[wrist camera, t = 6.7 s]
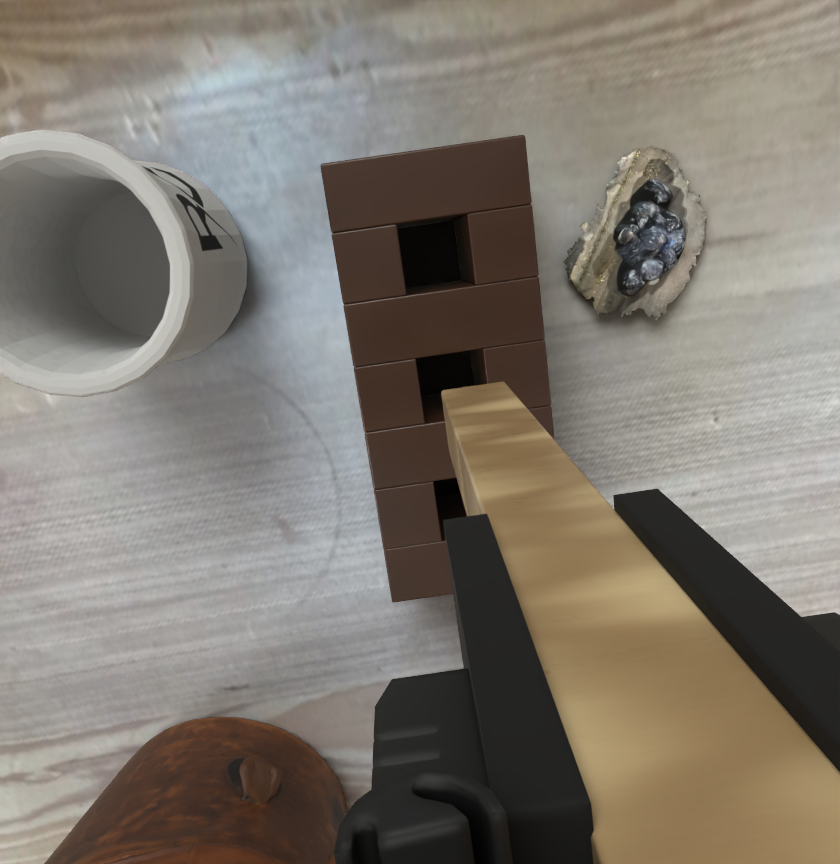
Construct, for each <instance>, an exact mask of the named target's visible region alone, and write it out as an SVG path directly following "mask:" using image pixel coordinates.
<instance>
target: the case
mask: <svg viewBox="0 0 840 864" xmlns="http://www.w3.org/2000/svg"><path fill="white" fill-rule="evenodd" d="M345 816H346V806H345V800H344V795H343V792H342V789H341V786H340V784H339V781H338V779H337V777H336V775H335V773H334V772H333V770H332V769H331V768H330V767H329V766H328V764H327V763H326V762H325V761H324V759H323V758H322V757H321V756H320V755H319V754H318V753H317V752H316V751H315V750H314V749H312V748H311V747H310V746H309V745H307V744H306V743H304V742H303V741H301V740H300V739H298V738H297V737H295V736H293V735H291V734H289V733H287V732H286V731H283V730H281V729H279V728H277V727H274V726H271V725H268V724H265V723H261V722H258V721H253V720H247V719H242V718H235V717H211V718H203V719H195V720H190V721H186V722H184V723H181V724H179V725H176V726H173V727H171V728H169V729H167V730H165V731H163V732H162V733H160V734H159V735H157V736H155V737H153V738H152V739H151V740H150V741H148V742H147V743H146V744H145V745H144V746H143V747H142V748H140V750H139V751H138V752H137V753H136V754H135V755H134V756H133V757H132V758H131V759H130V760H129V761H128V762H127V764H126V765H125V766H124V767H123V768H122V769H121V771H120V772H119V773H118V774H117V776H116V777H115V778H114V779H113V780H112V782H111V783H110V784H109V785H108V787H107V788H106V789H105V790H104V791H103V793H102V794H101V795H100V796H99V798H98V799H97V800H96V801H95V802H94V804H93V805H92V806H91V807H90V808H89V810H88V811H87V812H86V813H85V815H84V816H83V817H82V818H81V819H80V821H79V822H78V823H77V824H76V826H75V827H74V828H73V829H72V831H71V832H70V833H69V834H68V836H67V837H66V838H65V839H64V840H63V842H62V843H61V844H60V845H59V847H58V848H57V849H56V850H55V851H54V853H53V854H52V855H51V856H50V858H49V859H48V860H47V861H46V862H45V864H336V862H335V858H334V849H335V844H336V839H337V834H338V829H339V825H340V824H341V822H342V821H343V819H344V818H345Z"/></svg>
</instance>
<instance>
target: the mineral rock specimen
mask: <svg viewBox="0 0 840 864" xmlns="http://www.w3.org/2000/svg"><path fill="white" fill-rule="evenodd" d="M631 153H632V154H628V156H625V157H622V159H621V161H620V162H617V163H618V164H619V169H620V172H617V171H615V174H616V176H614V178H613V179H612V180H611V181H609V182H610V184H609V185H606V186H607V189H606V194H607V201H606V205H604V206H605V209H600V207H599V206H598V203H597V202H596V201H595V203H596V204H597V208H596V210H598V211H599V213H597V215H596V216H595V215H594V216H595V217H596V219H593V220H592V221H591V225H588V223H587V222H585V223H583V224H582V225H580V227H581V230H583V231H584V232H585V233H584V234H583V235H582V236H581V238H578V239H579V240H578V242H575V246H574V245H573V248H570V249H569V250H568V251H567V252H568V255H569V257H567V259H565V261H564V263H565V265H566V264H567V268H566V270H567V271H568V278H570V280H572V283H574V286H576V288H577V289H576V290H578V291H579V293H583V296H585V299H591V297H594V301H595V302H593V307H595V308H593V309H595V310H597V314H598V313H605V314H610V312H613V311H614V310H616V309H620V313H621V315H620V316H621V317H622V316H623V314H626V315H631V313H632V311H636V309H637V308H642V309H643V310H644V311H645V313H646V314H647V315H648V317H650V315H653V317H655V318H656V320H658V319H657V318H659V316H660V315H661V312H662V313H663V314H664V315H665V313H667V312H668V311H667V305H668V303H670V302H673V301H675V299H674V298H676V296H678V294H679V293H680V292H681V291H682V290H683V289H684V285H686V281H689V279H690V275H689V270H690V268H692V264H693V265H694V266H696V256H695V255H699V254H700V251H701V249H703V243H704V240H705V239H704V235H705V233H704V231H705V223H704V222H706V220H707V215H706V214H705V211H704V210H703V209H702V208H701V207H700V204H699V205H698V203H699V202H700V195H698V196H696V194H694V192H693V193H689V192H688V190H689V187H688V184H689V180H684V175H683V174H682V170H680V168H679V167H678V161H677V160H676V159H675V158H674V157H673V156H672V154H671V155H669V153H667V152H665V150H661V149H654V148H652V146H651V148H647V150H644V151H642V150H640V149H637V150H633V152H631ZM684 255H685V257H684Z"/></svg>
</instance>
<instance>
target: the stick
mask: <svg viewBox="0 0 840 864" xmlns="http://www.w3.org/2000/svg"><path fill="white" fill-rule="evenodd" d="M441 396H442V403H443V411H444V418H445V425H446V433H447V440H448V448H449V453H450V456H451V460H452V463H453V467H454V471H455V474H456V478H457V481H458V485H459V489H460V492H461V496H462V499H463V503H464V507H465V510H466V514H467V516H473V515H480V514H487V515H488V517H489V520H490V523H491V526H492V528H493V531H494V534H495V537H496V540H497V542H498V545H499V548H500V551H501V554H502V556H503V559H504V562H505V565H506V567H507V570H508V573H509V576H510V579H511V581H512V584H513V587H514V590H515V593H516V595H517V598H518V601H519V604H520V606H521V609H522V612H523V615H524V618H525V620H526V623H527V626H528V629H529V632H530V634H531V637H532V640H533V643H534V645H535V648H536V651H537V654H538V657H539V659H540V662H541V665H542V668H543V671H544V673H545V676H546V679H547V682H548V685H549V687H550V690H551V693H552V696H553V698H554V701H555V704H556V707H557V710H558V712H559V715H560V718H561V721H562V724H563V726H564V729H565V732H566V735H567V737H568V740H569V743H570V746H571V749H572V751H573V754H574V757H575V760H576V763H577V765H578V768H579V771H580V774H581V776H582V779H583V782H584V785H585V788H586V790H587V793H588V796H589V799H590V802H591V807H592V817H593V827H594V831H593V834H592V836H591V844H592V855H593V864H840V772H839V771H838V770H837V768H836V767H835V766H834V765H833V764H832V763H831V762H830V760H829V759H828V758H827V757H826V756H825V755H824V753H823V752H822V751H821V750H820V749H819V748H818V746H817V745H816V744H815V743H814V742H813V741H812V739H811V738H810V737H809V736H808V735H807V734H806V732H805V731H804V730H803V729H802V728H801V727H800V725H799V724H798V723H797V722H796V721H795V720H794V718H793V717H792V716H791V715H790V714H789V713H788V711H787V710H786V709H785V708H784V707H783V706H782V704H781V703H780V702H779V701H778V700H777V699H776V697H775V696H774V695H773V694H772V693H771V692H770V690H769V689H768V688H767V687H766V686H765V685H764V684H763V682H762V681H761V680H760V679H759V678H758V677H757V675H756V674H755V673H754V672H753V671H752V670H751V668H750V667H749V666H748V665H747V664H746V663H745V661H744V660H743V659H742V658H741V657H740V656H739V654H738V653H737V652H736V651H735V650H734V649H733V647H732V646H731V645H730V644H729V643H728V642H727V640H726V639H725V638H724V637H723V636H722V635H721V633H720V632H719V631H718V630H717V629H716V628H715V626H714V625H713V624H712V623H711V622H710V621H709V619H708V618H707V617H706V616H705V615H704V614H703V613H702V611H701V610H700V609H699V608H698V607H697V606H696V604H695V603H694V602H693V601H692V600H691V599H690V597H689V596H688V595H687V594H686V593H685V592H684V590H683V589H682V588H681V587H680V586H679V585H678V583H677V582H676V581H675V580H674V579H673V578H672V576H671V575H670V574H669V573H668V572H667V571H666V569H665V568H664V567H663V566H662V565H661V564H660V562H659V561H658V560H657V559H656V558H655V557H654V555H653V554H652V553H651V552H650V551H649V550H648V548H647V547H646V546H645V545H644V544H643V543H642V542H641V540H640V539H639V538H638V537H637V536H636V535H635V533H634V532H633V531H632V530H631V529H630V528H629V526H628V525H627V524H626V523H625V522H624V521H623V519H622V518H621V517H620V516H619V515H618V514H617V512H616V511H615V510H614V509H613V508H612V506H611V505H610V504H609V503H608V502H607V501H606V499H605V498H604V497H603V496H602V495H601V494H600V492H599V491H598V490H597V489H596V488H595V487H594V486H593V484H592V483H591V482H590V481H589V480H588V479H587V477H586V476H585V475H584V474H583V473H582V472H581V470H580V469H579V468H578V467H577V466H576V465H575V463H574V462H573V461H572V460H571V459H570V458H569V456H568V455H567V454H566V453H565V452H564V451H563V450H562V448H561V447H560V446H559V445H558V444H557V443H556V441H555V440H554V439H553V438H552V437H551V436H550V434H549V433H548V432H547V431H546V430H545V429H544V427H543V426H542V425H541V424H540V423H539V422H538V420H537V419H536V418H535V417H534V416H533V415H532V413H531V412H530V411H529V410H528V409H527V408H526V407H525V405H524V404H523V403H522V402H521V401H520V400H519V398H518V397H517V396H516V395H515V394H514V393H513V391H512V390H511V389H510V388H509V387H508V386H507V384H506V383H505V382H496V383H489V384H482V385H476V386H469V387H462V388H455V389H448V390H443V391H441Z"/></svg>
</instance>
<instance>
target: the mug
mask: <svg viewBox="0 0 840 864" xmlns="http://www.w3.org/2000/svg"><path fill="white" fill-rule="evenodd" d="M246 286H247V258H246V253H245V249H244V245H243V240H242V236H241V234H240V232H239V230H238V228H237V226H236V224H235V222H234V220H233V218H232V216H231V214H230V212H229V211H228V209H227V208H226V207H225V206H224V205H223V204H222V202H221V201H220V200H219V199H218V198H217V197H216V195H215V194H214V193H213V192H212V191H211V190H210V189H209V188H208V187H206V186H205V185H203V184H202V183H201V182H199V181H198V180H196V179H195V178H193V177H192V176H190V175H189V174H188V173H186V172H183V171H180V170H178V169H175V168H172V167H170V166H167V165H164V164H161V163H154V162H144V161H134V160H132V159H130V158H129V157H128V156H126V155H125V154H123V153H122V152H120V151H119V150H117V149H116V148H114V147H113V146H110V145H107V144H105V143H102V142H99V141H97V140H94V139H91V138H89V137H86V136H83V135H81V134H78V133H69V132H59V131H49V130H35V131H29V132H24V133H19V134H13V135H8V136H4V137H2V138H0V374H2V375H4V376H5V377H7V378H9V379H10V380H12V381H13V382H15V383H17V384H20V385H23V386H26V387H29V388H32V389H35V390H38V391H41V392H44V393H47V394H50V395H63V396H76V397H86V396H92V395H97V394H103V393H108V392H113V391H117V390H119V389H122V388H124V387H126V386H128V385H130V384H132V383H134V382H136V381H138V380H140V379H142V378H144V377H146V376H147V375H148V374H149V373H151V372H152V371H153V370H154V369H155V368H156V367H157V366H158V365H160V364H161V363H166V362H172V361H177V360H182V359H186V358H188V357H190V356H192V355H194V354H196V353H198V352H201V351H203V350H205V349H207V348H208V347H209V346H210V345H212V344H213V343H214V342H215V341H216V340H217V339H218V338H220V337H221V336H222V335H223V334H224V333H225V332H226V331H227V329H228V328H229V326H230V324H231V323H232V321H233V320H234V318H235V316H236V315H237V313H238V312H239V309H240V306H241V303H242V299H243V296H244V293H245V289H246Z"/></svg>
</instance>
